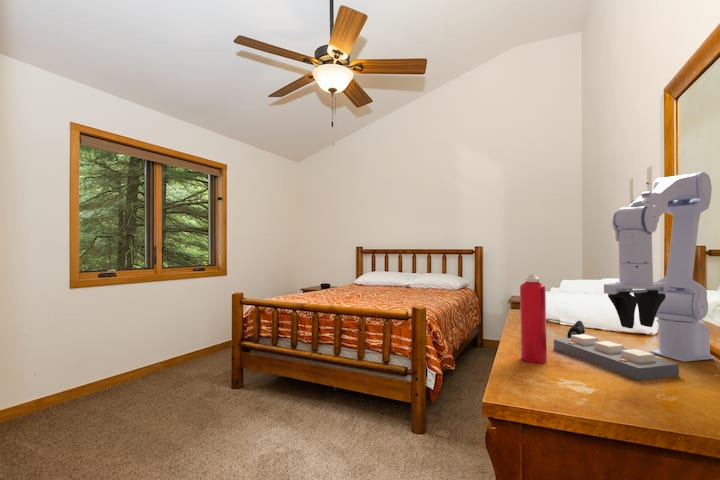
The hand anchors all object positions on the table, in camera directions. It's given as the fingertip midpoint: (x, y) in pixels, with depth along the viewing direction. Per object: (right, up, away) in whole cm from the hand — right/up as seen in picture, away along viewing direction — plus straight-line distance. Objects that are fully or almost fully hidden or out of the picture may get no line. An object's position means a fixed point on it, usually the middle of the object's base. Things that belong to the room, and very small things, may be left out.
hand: (636, 326), depth 78 cm
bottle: (-18, -10, +8) cm, 22 cm away
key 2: (0, -9, 0) cm, 9 cm away
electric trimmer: (+7, -10, +33) cm, 36 cm away
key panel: (-1, -10, +7) cm, 12 cm away
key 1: (-3, -10, +14) cm, 17 cm away
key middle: (-1, -10, +7) cm, 12 cm away
